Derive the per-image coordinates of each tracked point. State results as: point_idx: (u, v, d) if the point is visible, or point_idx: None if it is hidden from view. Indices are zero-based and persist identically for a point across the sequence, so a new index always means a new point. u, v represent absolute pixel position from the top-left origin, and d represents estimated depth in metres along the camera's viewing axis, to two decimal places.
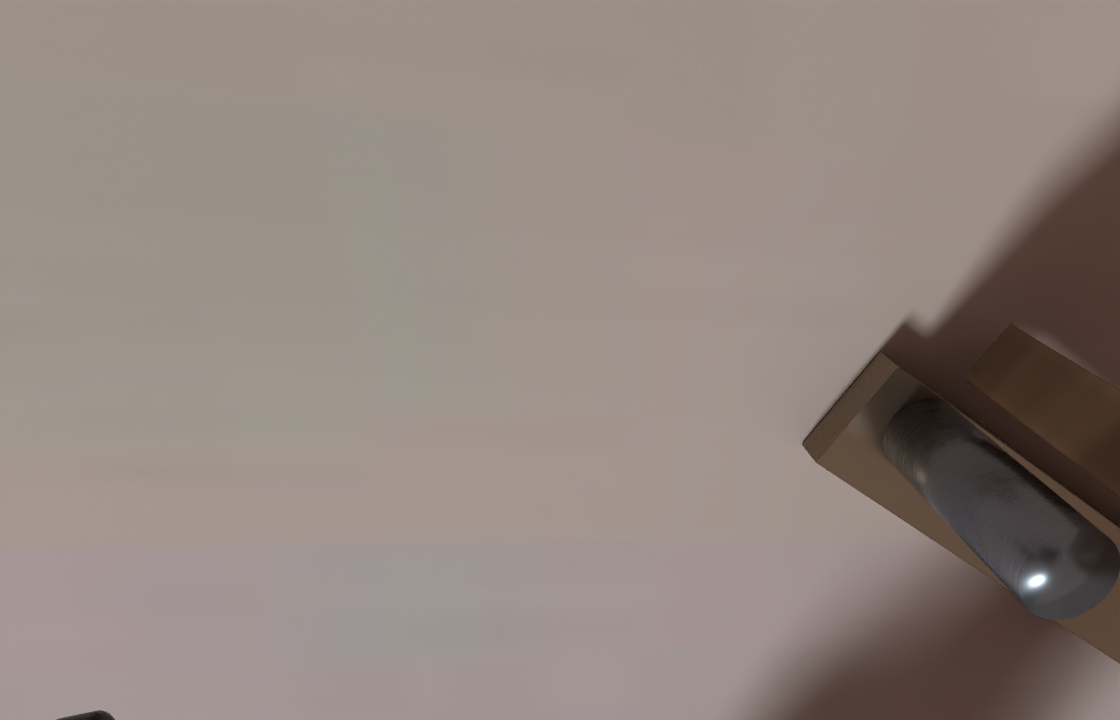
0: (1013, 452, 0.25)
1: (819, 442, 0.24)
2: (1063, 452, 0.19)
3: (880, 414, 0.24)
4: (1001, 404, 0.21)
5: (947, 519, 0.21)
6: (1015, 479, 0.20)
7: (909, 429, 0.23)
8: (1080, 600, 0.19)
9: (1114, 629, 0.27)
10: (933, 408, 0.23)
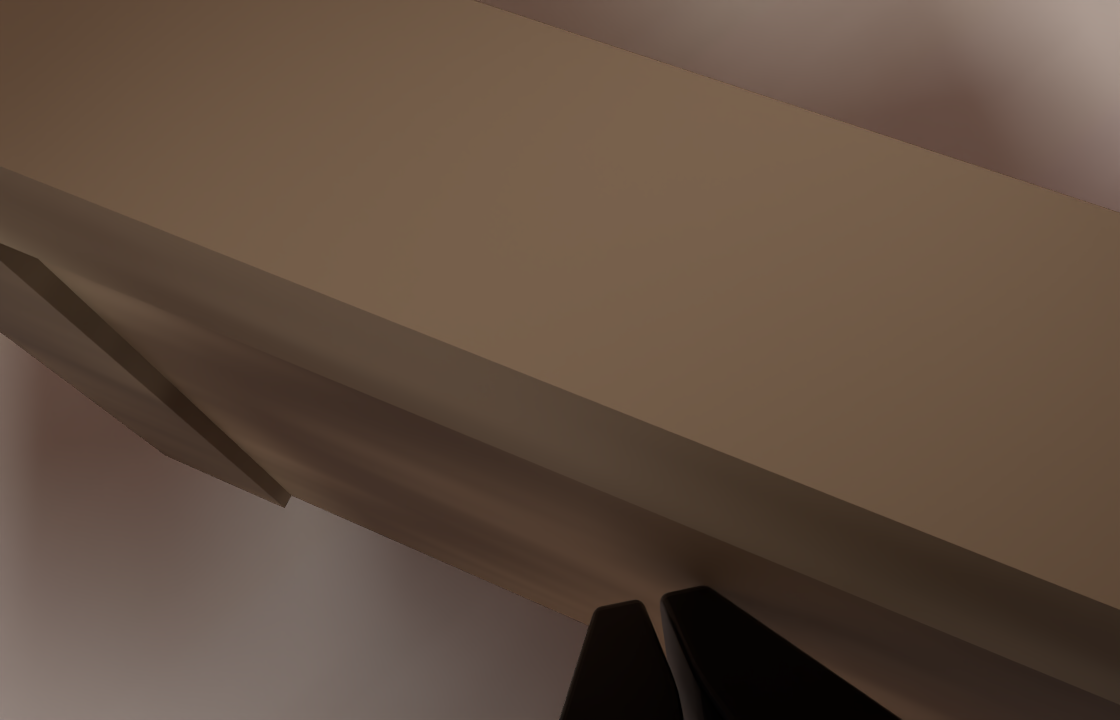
0: None
1: None
2: (26, 348, 0.11)
3: None
4: None
5: None
6: None
7: None
8: None
9: None
10: None
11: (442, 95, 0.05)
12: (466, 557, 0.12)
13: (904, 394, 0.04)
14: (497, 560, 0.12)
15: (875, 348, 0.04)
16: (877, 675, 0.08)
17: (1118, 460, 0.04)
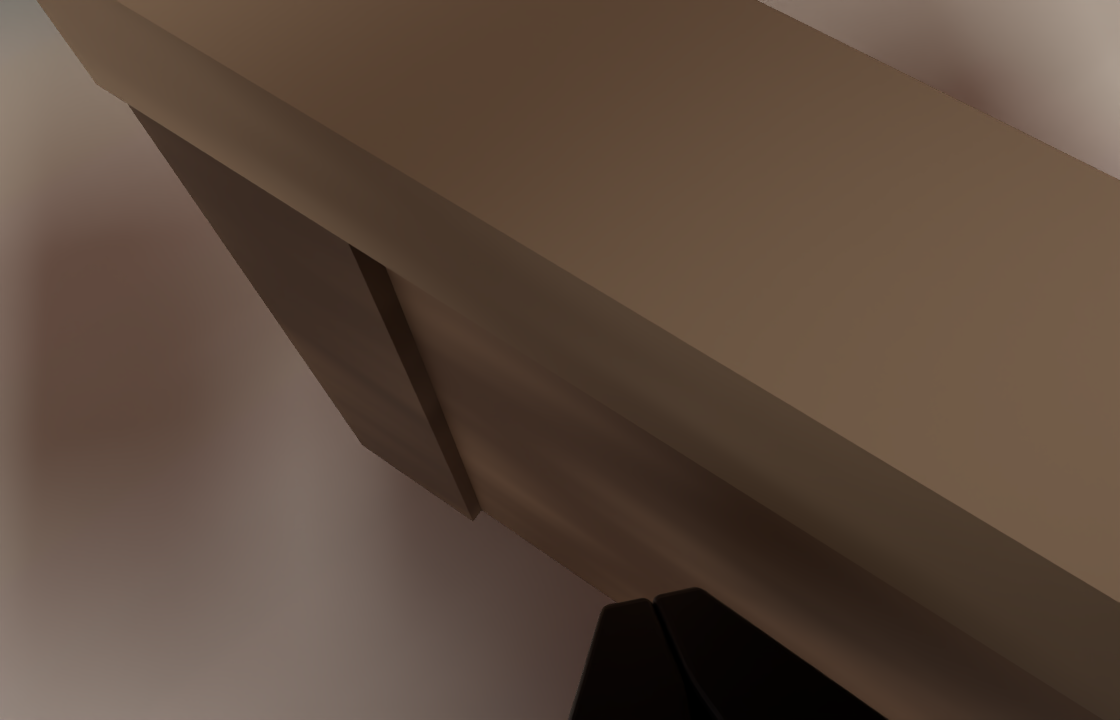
0: None
1: None
2: None
3: None
4: None
5: None
6: None
7: None
8: None
9: None
10: None
11: (1004, 246, 0.04)
12: None
13: None
14: None
15: None
16: None
17: None
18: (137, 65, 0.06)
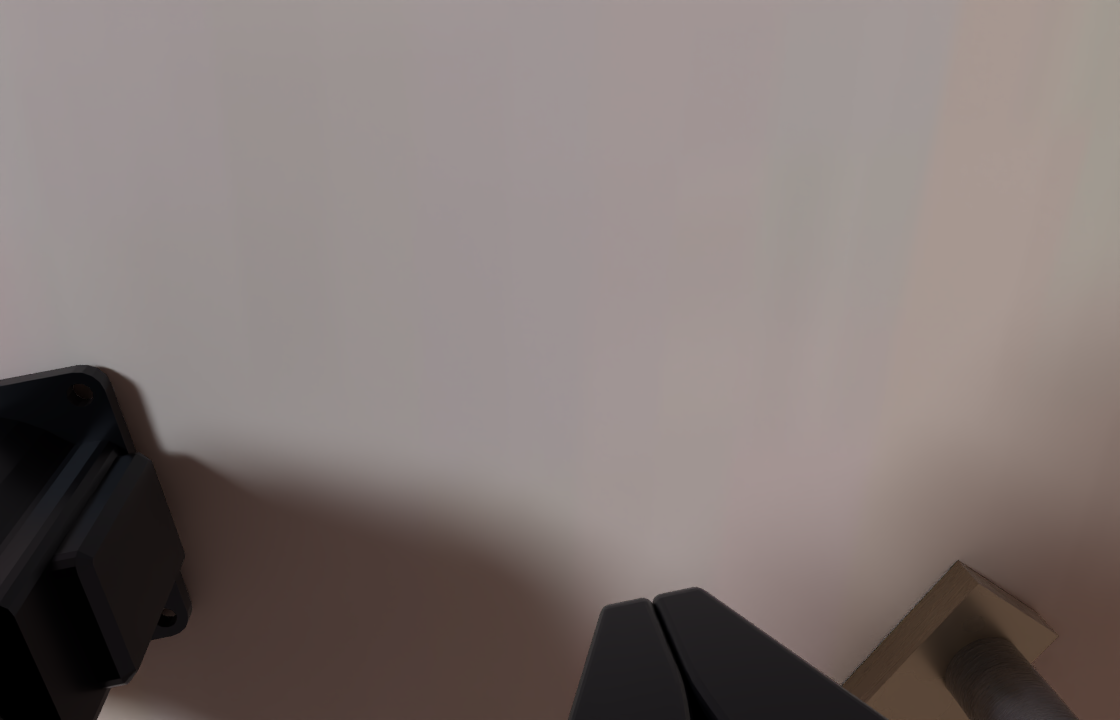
0: None
1: (979, 579, 0.24)
2: None
3: (1014, 630, 0.24)
4: None
5: None
6: None
7: (1028, 663, 0.24)
8: None
9: None
10: None
11: None
12: None
13: None
14: None
15: None
16: None
17: None
18: None
